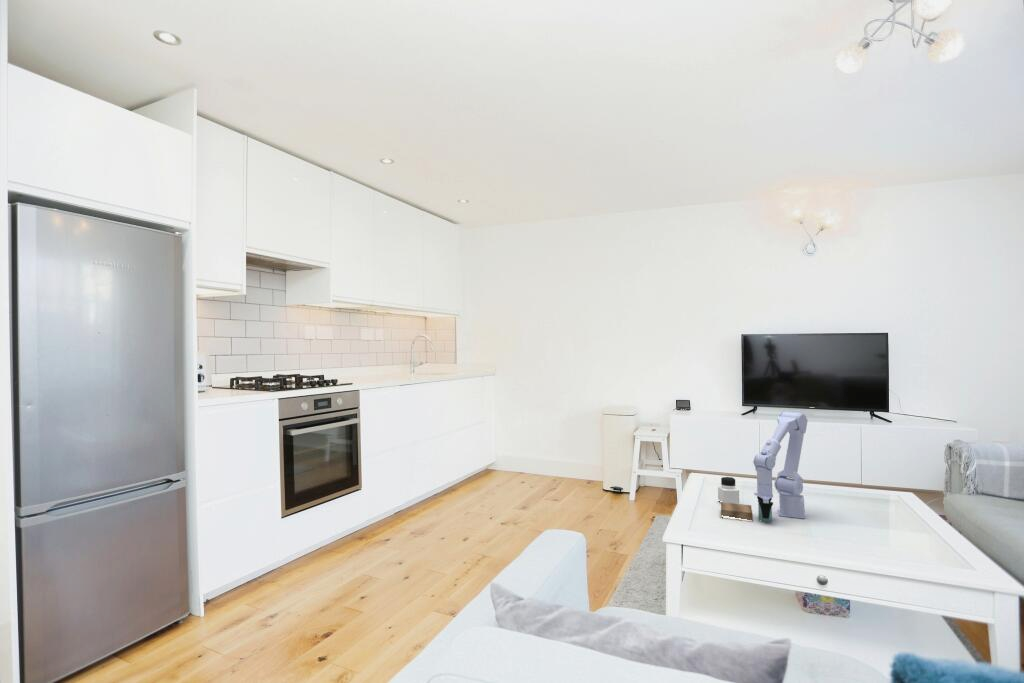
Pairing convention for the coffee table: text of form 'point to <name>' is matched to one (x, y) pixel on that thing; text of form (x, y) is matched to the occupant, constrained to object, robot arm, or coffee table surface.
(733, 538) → the coffee table surface
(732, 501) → the medicine bottle
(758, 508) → the teal tin
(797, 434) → the robot arm
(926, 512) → the coffee table surface
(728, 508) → the walnut block
